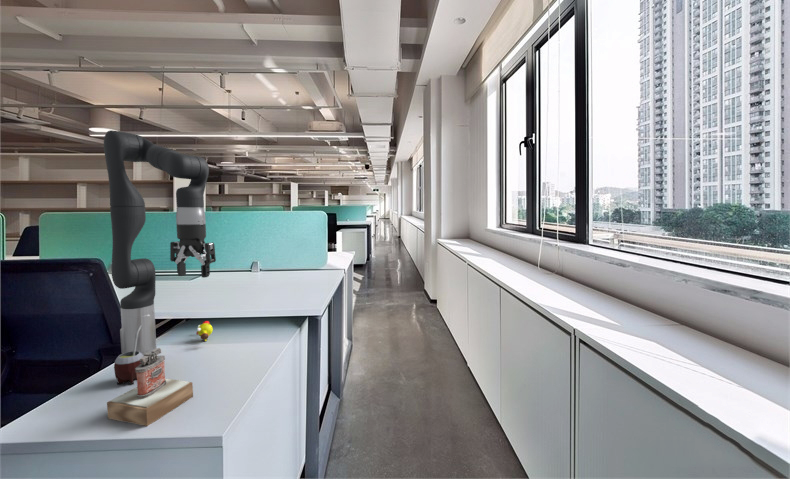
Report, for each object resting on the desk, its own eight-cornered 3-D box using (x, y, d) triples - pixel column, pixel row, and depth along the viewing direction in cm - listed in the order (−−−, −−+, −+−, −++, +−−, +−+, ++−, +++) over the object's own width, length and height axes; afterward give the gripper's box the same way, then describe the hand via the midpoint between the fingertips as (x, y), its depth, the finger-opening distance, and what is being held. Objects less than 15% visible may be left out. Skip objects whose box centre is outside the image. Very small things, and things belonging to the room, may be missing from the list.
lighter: (146, 399, 83) (144, 359, 82) (133, 398, 83) (130, 359, 82) (169, 382, 91) (167, 346, 90) (157, 382, 91) (155, 346, 90)
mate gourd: (116, 389, 96) (113, 337, 94) (113, 379, 101) (110, 330, 100) (149, 380, 101) (146, 330, 99) (144, 371, 106) (141, 324, 105)
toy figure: (198, 334, 138) (197, 317, 138) (213, 332, 141) (212, 316, 140) (195, 350, 122) (194, 332, 122) (212, 347, 125) (212, 329, 124)
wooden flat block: (108, 418, 82) (106, 401, 82) (157, 390, 95) (156, 375, 95) (147, 426, 79) (146, 408, 79) (193, 396, 92) (192, 381, 92)
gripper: (160, 223, 100) (163, 277, 102) (201, 223, 97) (203, 280, 98) (182, 222, 108) (184, 273, 109) (220, 222, 104) (222, 275, 105)
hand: (193, 276), depth 104 cm, fingers open, 8 cm apart
